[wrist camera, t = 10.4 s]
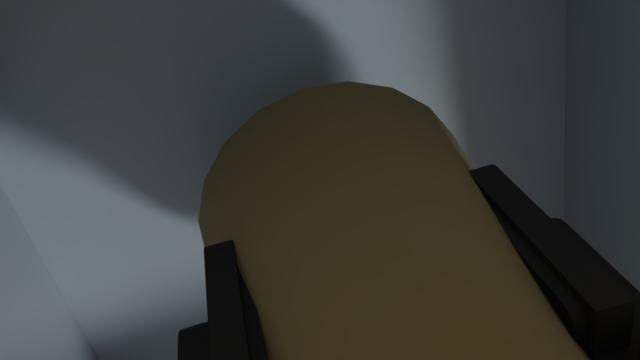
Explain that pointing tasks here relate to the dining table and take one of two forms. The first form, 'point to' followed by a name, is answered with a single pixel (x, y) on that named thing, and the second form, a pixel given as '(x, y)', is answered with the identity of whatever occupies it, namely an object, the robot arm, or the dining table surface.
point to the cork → (371, 236)
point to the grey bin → (241, 104)
